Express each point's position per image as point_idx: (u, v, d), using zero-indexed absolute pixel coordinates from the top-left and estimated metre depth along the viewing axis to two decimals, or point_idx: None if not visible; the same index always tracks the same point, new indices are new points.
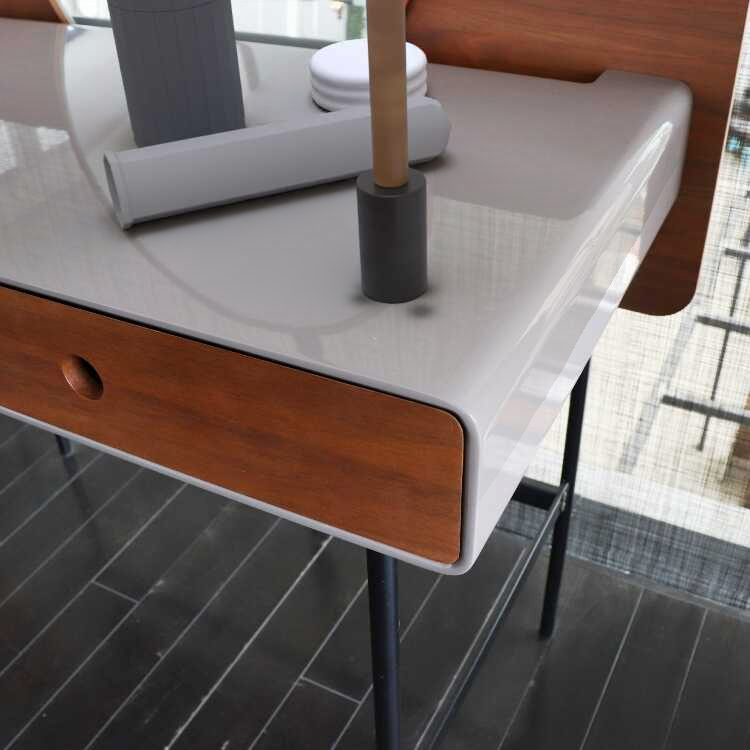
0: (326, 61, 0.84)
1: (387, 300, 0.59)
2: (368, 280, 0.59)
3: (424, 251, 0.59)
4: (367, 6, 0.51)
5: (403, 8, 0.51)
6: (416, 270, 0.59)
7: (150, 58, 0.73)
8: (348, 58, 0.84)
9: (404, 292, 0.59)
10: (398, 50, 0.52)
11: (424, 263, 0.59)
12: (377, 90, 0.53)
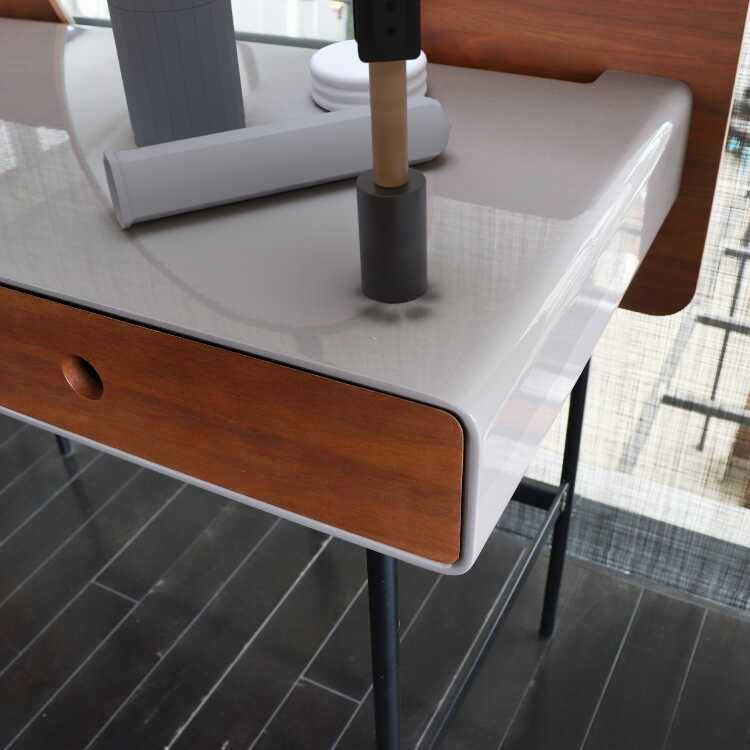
0: (326, 61, 0.84)
1: (387, 300, 0.59)
2: (368, 280, 0.59)
3: (424, 251, 0.59)
4: None
5: None
6: (416, 270, 0.59)
7: (150, 58, 0.73)
8: (348, 58, 0.84)
9: (404, 292, 0.59)
10: None
11: (424, 263, 0.59)
12: (377, 90, 0.53)
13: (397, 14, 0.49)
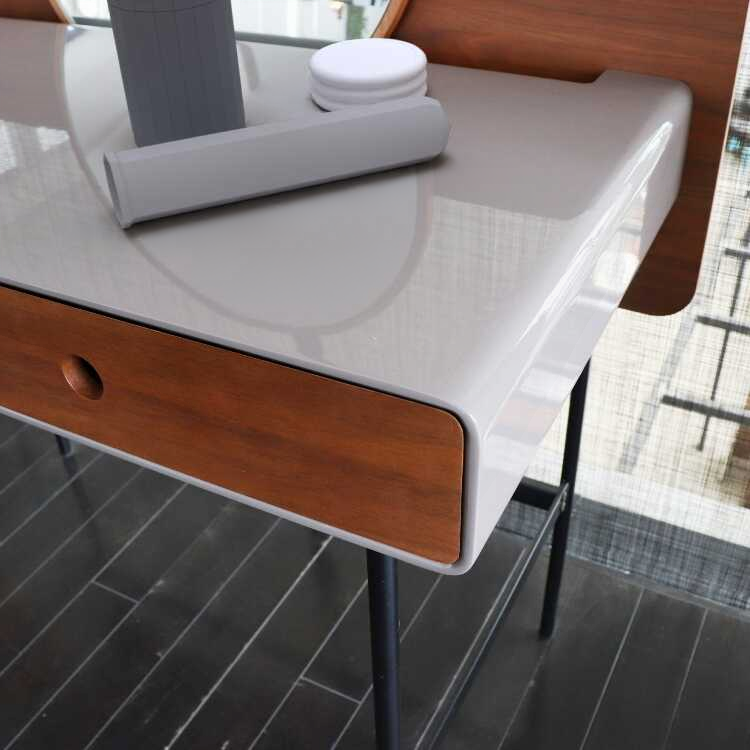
0: (326, 61, 0.84)
1: None
2: None
3: None
4: None
5: None
6: None
7: (150, 58, 0.73)
8: (348, 58, 0.84)
9: None
10: None
11: None
12: None
13: None
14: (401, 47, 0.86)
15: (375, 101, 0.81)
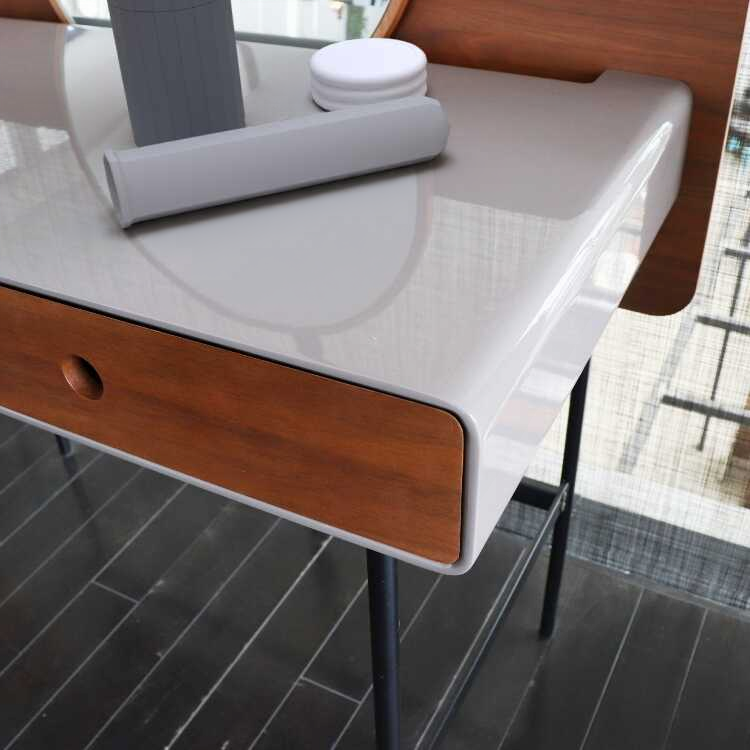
0: (326, 61, 0.84)
1: None
2: None
3: None
4: None
5: None
6: None
7: (150, 58, 0.73)
8: (348, 58, 0.84)
9: None
10: None
11: None
12: None
13: None
14: (401, 47, 0.86)
15: (375, 101, 0.81)
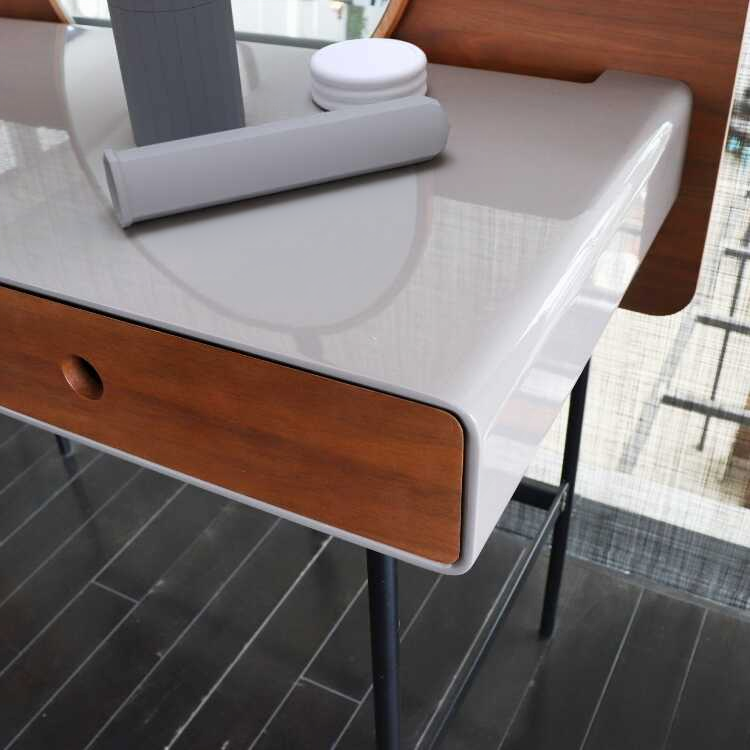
0: (326, 61, 0.84)
1: None
2: None
3: None
4: None
5: None
6: None
7: (150, 58, 0.73)
8: (348, 58, 0.84)
9: None
10: None
11: None
12: None
13: None
14: (401, 47, 0.86)
15: (375, 101, 0.81)
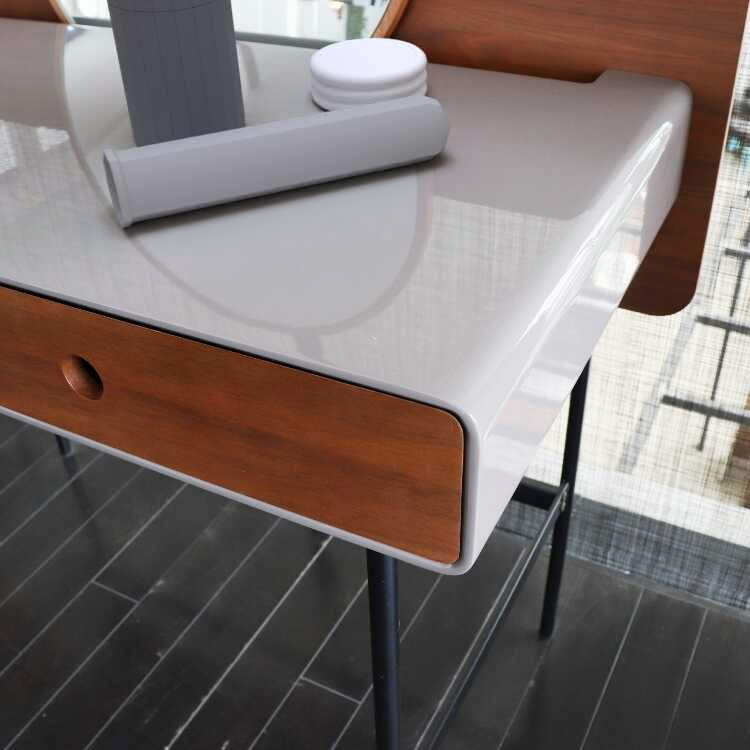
0: (326, 61, 0.84)
1: None
2: None
3: None
4: None
5: None
6: None
7: (150, 58, 0.73)
8: (348, 58, 0.84)
9: None
10: None
11: None
12: None
13: None
14: (401, 47, 0.86)
15: (375, 101, 0.81)
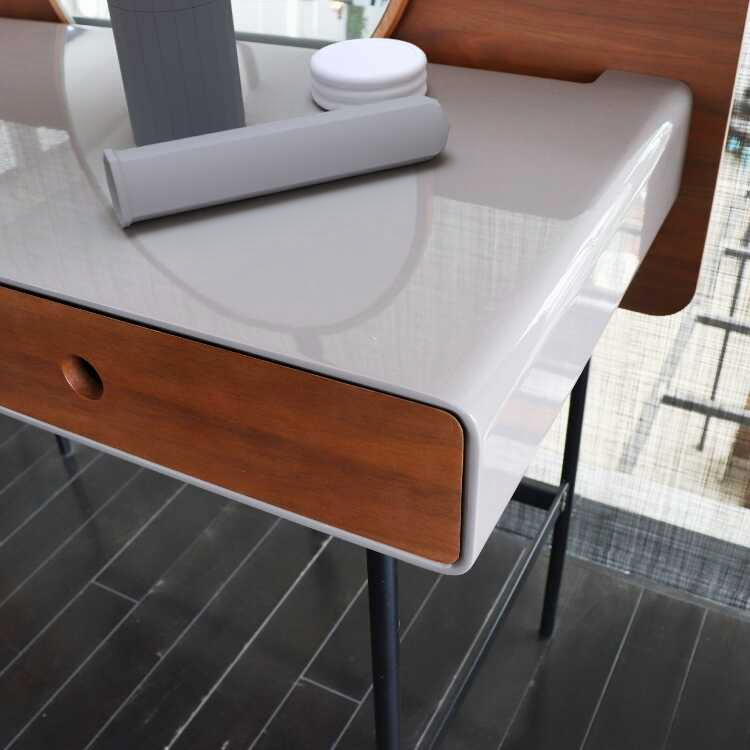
0: (326, 61, 0.84)
1: None
2: None
3: None
4: None
5: None
6: None
7: (150, 58, 0.73)
8: (348, 58, 0.84)
9: None
10: None
11: None
12: None
13: None
14: (401, 47, 0.86)
15: (375, 101, 0.81)
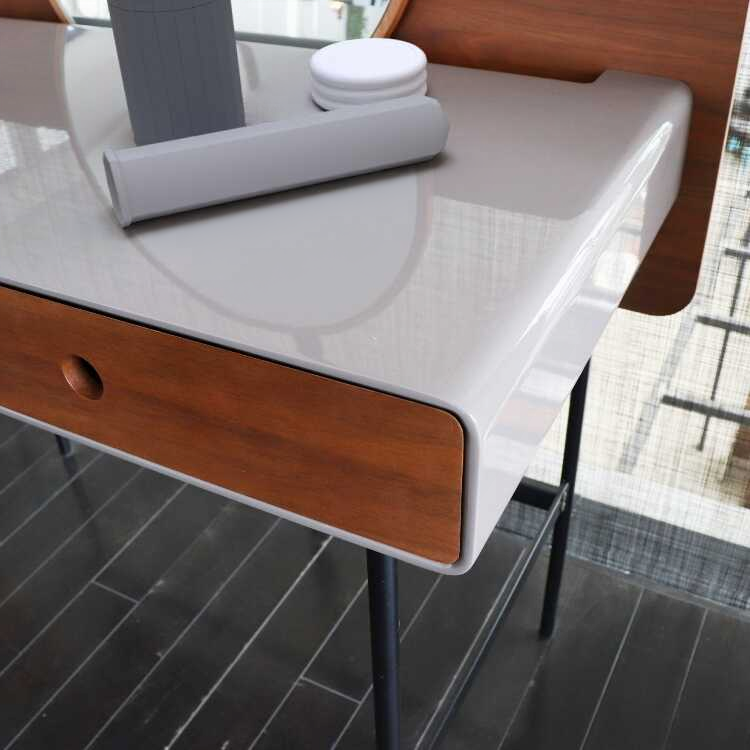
0: (326, 61, 0.84)
1: None
2: None
3: None
4: None
5: None
6: None
7: (150, 58, 0.73)
8: (348, 58, 0.84)
9: None
10: None
11: None
12: None
13: None
14: (401, 47, 0.86)
15: (375, 101, 0.81)
